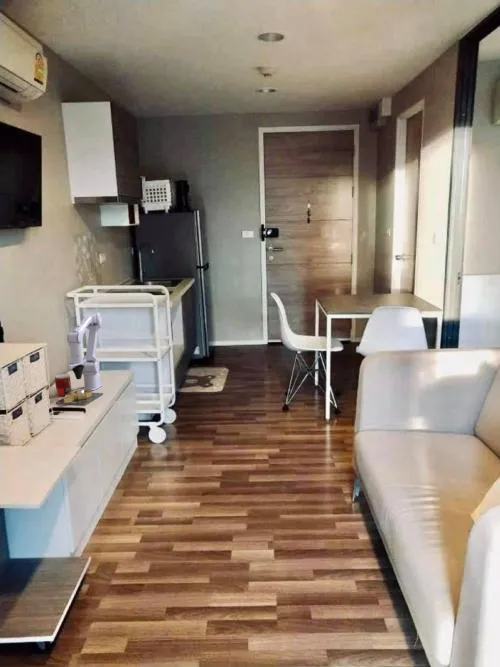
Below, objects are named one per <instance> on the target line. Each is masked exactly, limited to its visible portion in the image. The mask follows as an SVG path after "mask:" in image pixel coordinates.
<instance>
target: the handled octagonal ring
mask: <svg viewBox="0 0 500 667" xmlns="http://www.w3.org/2000/svg"><path fill="white" fill-rule="evenodd" d="M77 390H84V392H85V393H81V394H77V392H76V391H77ZM92 393H93V390H91V389H83V388H80V389H74V390H71V392H69V394H70V396H68V397H66V398H65V397H63V398H64V403H69V402H72V401H74V400H80V399H86V398H89V397H91V396H92Z"/></svg>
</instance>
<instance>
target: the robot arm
mask: <svg viewBox="0 0 500 667" xmlns="http://www.w3.org/2000/svg"><path fill="white" fill-rule="evenodd" d="M102 322H103V317H102V314H101V312H83V313H82V316H81V322H80V324H76V326H75V327H74V328H73V330H72V331H71V332H69V333H67V335H66V340H67V343H68V347H69V350H70V352H69V353H70V360H71V361H70V362H69V365H68V366H67V370H72V372H73V373H74V376H75V379H76V380H81V379H82V376H83V382H84V387H83V388H82V389H91V391H96V390H98V389H99V388H102V387H103V385H102V382H101V374H100V373H99V372H100V360H99V358H97V357H96V351H97V344H98V337H99V330H100V329H101V328H102V324H103V323H102ZM87 330H88V331H89V332H88V338H87V345H86V346H87V347H86V351H85V352H86V353H85V356H84V357H83V351H82V342H83V338H84V335H85V333H86V332H87Z"/></svg>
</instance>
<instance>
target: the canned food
mask: <svg viewBox="0 0 500 667" xmlns="http://www.w3.org/2000/svg"><path fill="white" fill-rule="evenodd" d="M54 382H55V391H56V396H57V397H60V398H65V395H70V394H69V392H71V391H72V383H71V375H70V374H69V373H68V374H67V373H62V374H56V375H55V376H54Z"/></svg>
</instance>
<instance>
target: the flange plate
mask: <svg viewBox="0 0 500 667" xmlns="http://www.w3.org/2000/svg"><path fill="white" fill-rule="evenodd" d="M76 390H77V391H76V392H77V394H81V393H85V392H84V390H78V389H76ZM103 395H104V393H103V392H92V396H91V397H89V398H86V399H80V400H74V401H72V402H69V403H64V398H66V397H68V396H70V395H65V397H62V398H61V399H59V400H57V401H56V402H55V404H56V405H67V406H68V405H69V406H70V405H72V406H87V405H88V404H90V403H91V402H93V401H95V400H97V399H98V398H100V397H102V396H103Z"/></svg>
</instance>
